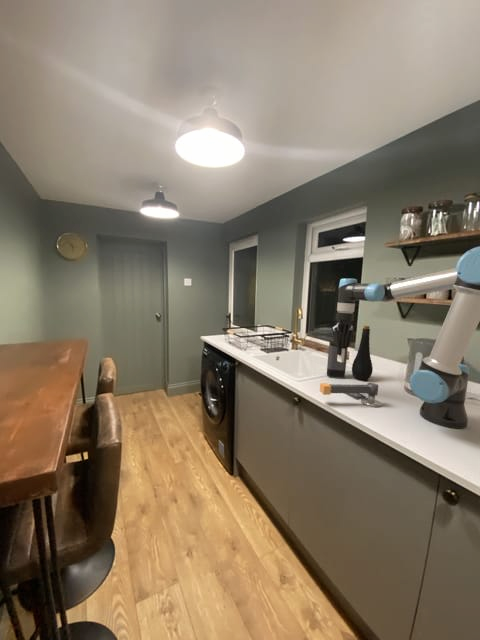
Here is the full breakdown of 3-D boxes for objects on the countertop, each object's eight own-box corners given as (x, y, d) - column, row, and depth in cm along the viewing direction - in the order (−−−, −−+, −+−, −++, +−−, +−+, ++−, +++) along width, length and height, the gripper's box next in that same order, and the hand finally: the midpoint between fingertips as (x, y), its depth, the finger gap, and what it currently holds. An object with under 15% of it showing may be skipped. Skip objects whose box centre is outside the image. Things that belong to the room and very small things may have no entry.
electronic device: (342, 375, 157) (345, 341, 155) (345, 379, 152) (348, 343, 149) (325, 374, 158) (328, 340, 156) (328, 377, 152) (331, 342, 150)
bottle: (347, 378, 154) (352, 325, 150) (355, 374, 161) (361, 324, 157) (366, 383, 146) (372, 328, 142) (374, 379, 153) (380, 326, 150)
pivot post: (385, 406, 118) (386, 396, 117) (371, 408, 114) (372, 398, 114) (369, 398, 125) (370, 389, 124) (356, 400, 122) (357, 391, 121)
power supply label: (366, 398, 125) (366, 396, 125) (356, 399, 123) (356, 398, 123) (353, 391, 133) (353, 390, 133) (343, 393, 130) (343, 391, 130)
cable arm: (373, 391, 122) (374, 382, 121) (379, 395, 117) (380, 386, 117) (319, 391, 118) (320, 382, 118) (323, 395, 114) (324, 386, 114)
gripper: (349, 311, 133) (344, 358, 136) (328, 311, 127) (324, 360, 130) (361, 313, 126) (356, 362, 129) (340, 312, 121) (335, 364, 124)
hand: (340, 361), depth 130 cm, fingers closed
